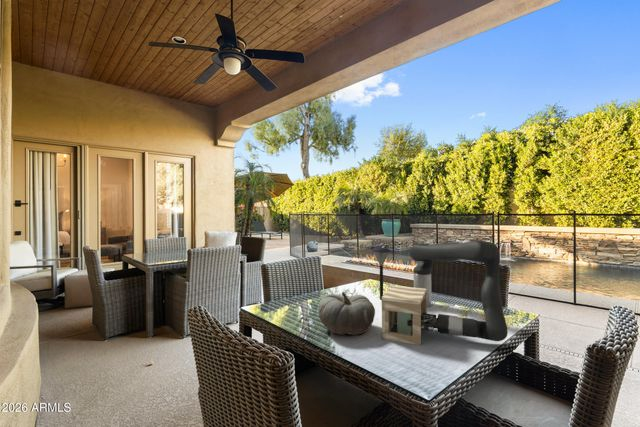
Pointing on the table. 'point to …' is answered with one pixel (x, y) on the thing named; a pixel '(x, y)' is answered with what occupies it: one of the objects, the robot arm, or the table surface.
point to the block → (403, 323)
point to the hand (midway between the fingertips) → (409, 319)
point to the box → (406, 303)
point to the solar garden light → (381, 263)
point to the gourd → (346, 313)
